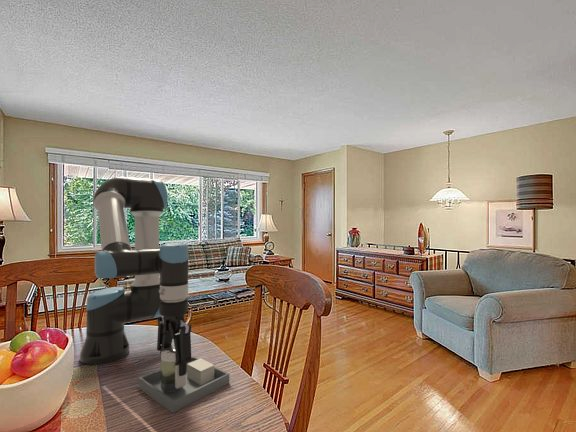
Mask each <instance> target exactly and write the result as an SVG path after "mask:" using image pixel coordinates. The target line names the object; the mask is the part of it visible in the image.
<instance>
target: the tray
mask: <svg viewBox="0 0 576 432" xmlns="http://www.w3.org/2000/svg"><path fill="white" fill-rule="evenodd" d="M191 358H192V360H191V361H190V362H193V361H195V360H198V359H199V357H197V356H194V355H193V356H191ZM190 362H187V363H186V385H184V387H182V388H181V389H179V390H176V391H172V392H166V391H163V390H161V368H160V369H158V370H155V371H153V372H150V373H148V374H147V373H146V374H145V375H143V376H140V377H138V383H137V384H138V385H137V386H138V389H140V390H141V391H142V392H144V393H145V394H146V395H147V396H148V397H150V398H152V400H154V401H155V402H156V403H158V404H159V405H161V406H162V407H163V408H164V409H166V410H167V411H169V412H170V413H171V414H174V413H175V412H176V413H177V412H178V411H180V410H181V409H183V408H185V407H187V406H189V405H191V404H193V403H195V402H196V401H198V400H201V399H202V398H205V397H206V396H208V395H210V394H212V393H213V392H215V391H218V390H219V389H221V388H223V387H225V386H227V385H229V384H230V373H228V372H227V371H224V370H223V369H220V368H219V367H217V366H215V365H214V379H212V380H210V381H208V382H206V383H204V384H202V385H200V384H198V383H196V382H194V381H193V380H191V379H189V378H188V377H187V364H188V363H190Z"/></svg>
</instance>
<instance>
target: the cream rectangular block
mask: <svg viewBox="0 0 576 432" xmlns="http://www.w3.org/2000/svg"><path fill="white" fill-rule="evenodd" d="M214 366H215V365H214V364H213V363H211V362H209V361H207V360H205V359H203V358H198V360H195V361H193V362H190V363H188V364H187V377H188V378H189V379H191V380H193V381H194V382H196V383H198V384H200V385H202V384H204V383H206V382H208V381H210V380H212V379H214Z"/></svg>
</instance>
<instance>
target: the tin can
mask: <svg viewBox="0 0 576 432" xmlns="http://www.w3.org/2000/svg"><path fill="white" fill-rule="evenodd" d="M175 363H177V357H176V351H175V345H174V344H171V345H170V346H167V347H164V348H163V349H162V350H161V354H160V369H161V390H163V391H166V392H172V391H176V390H179V389H181V388H182V387H184V386H182V387H180V388H177V389H176V388H175Z"/></svg>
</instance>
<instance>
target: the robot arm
mask: <svg viewBox="0 0 576 432" xmlns="http://www.w3.org/2000/svg"><path fill="white" fill-rule="evenodd" d="M168 197H169V196H168V190H167V187H166V185H165V183H164V182H163V181H162V179H161V180H160V179H156V178H155V179H153V178H146V177H145V178H142V177H130V176H129V177H127V176H117V177H113V178H110V179H107V180H106V181H104V182H103V183H102V184H100V185H99V187H98V188H97V189H96V191H95V192H94V196H93V205H94V208H95V210H96V211H98V213H97V214H98V225H99V234H100V248H101V250H100V251H96V252H95V254H94V275H95V277H96V278H98V279H114V278H115V279H116V278H123V277H133V276H134V281H132V283H130V289H128V290H126V289H125V287H123V286H113V287H107V288H101V289H98V290H97V291H94V292H92V293H90V294H89V295H88V296H87V298H86V307H85V310H86V326H85V327H86V336H85V339H84V342H83V345H82V348H81V351H80V353H79V361H80V363H82V364H84V365H89V366H91V365H92V366H96V365H97V366H98V365H104V364H109V363H112V362H116V361H118V360H120V359H122V358H124V357H126V356H127V355H128V354H129V353H130V343H129V340H128V337H127V334H126V333H125V324H126V323H133V322H138V321H144V320H145V321H146V320H154V319H156V318H157V338H156V339H157V341H156V351H157V352H159V354H160V355H161V350H162V349H163V348H164V347H167V346H170V345H175V351H176V357H177V363H175V388H176V389H177V388H180V387H182V386H184V385H186V363H187V362H190V361H191V360H192V358H191V357H192V338H191V332H192V324H190V323H189V324H186V320H185V314H187V313H188V310H189V299H188V297H189V259H190V253H189V246H188V245H187V244H186V243H179V242H177V243H176V242H175V243H164V244H162V245H160V217H161V215H163V214H164V210H165V209H167V207H168V204H169V203H168V202H169V199H168ZM124 208H125V209H129V210H130V212H129V213H130V214H131V215H132V216H133V217H134V249H132V247H131V242H130V236H129V232H128V226H127V221H126V216H125V210H124ZM173 343H174V344H173Z"/></svg>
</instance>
